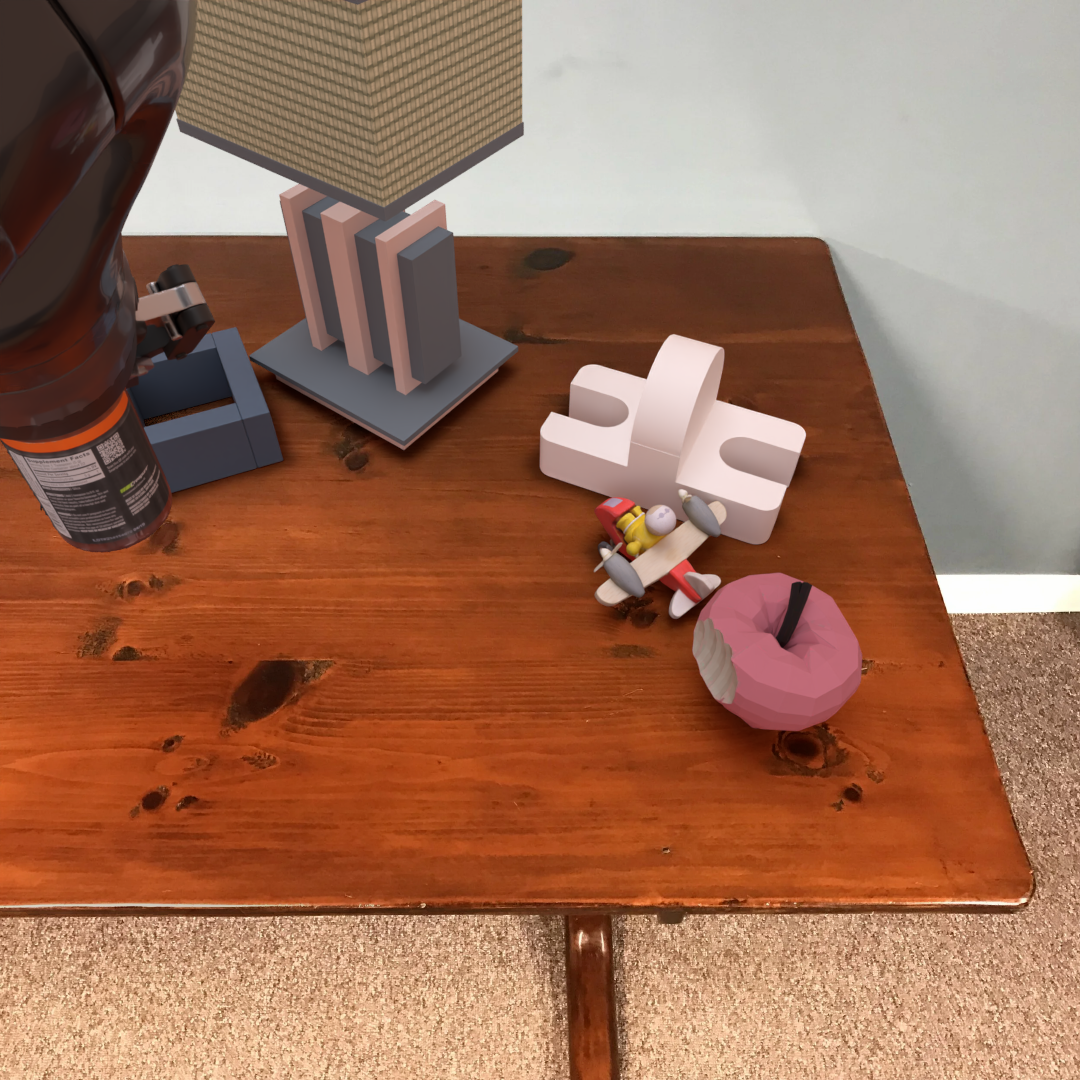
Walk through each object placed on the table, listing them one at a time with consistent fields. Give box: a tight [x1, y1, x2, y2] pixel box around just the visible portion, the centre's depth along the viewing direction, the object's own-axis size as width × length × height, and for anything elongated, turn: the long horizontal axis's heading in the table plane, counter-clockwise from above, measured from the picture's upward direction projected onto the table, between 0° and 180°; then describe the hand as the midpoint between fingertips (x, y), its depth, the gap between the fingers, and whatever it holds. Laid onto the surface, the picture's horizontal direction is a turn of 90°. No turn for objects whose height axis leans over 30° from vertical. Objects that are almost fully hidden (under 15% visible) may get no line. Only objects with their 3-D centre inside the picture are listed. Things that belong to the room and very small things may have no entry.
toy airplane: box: [593, 489, 727, 620], centre depth 59 cm, size 9×9×6 cm
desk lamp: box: [174, 0, 525, 451], centre depth 63 cm, size 18×14×33 cm
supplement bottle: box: [0, 387, 173, 553], centre depth 43 cm, size 6×6×11 cm
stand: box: [126, 326, 284, 494], centre depth 68 cm, size 11×11×5 cm
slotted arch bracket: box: [539, 333, 807, 545], centre depth 64 cm, size 10×18×11 cm, turn 66°
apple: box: [692, 572, 863, 732], centre depth 52 cm, size 10×9×10 cm
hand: (53, 391), depth 43 cm, fingers closed on supplement bottle, 6 cm apart
